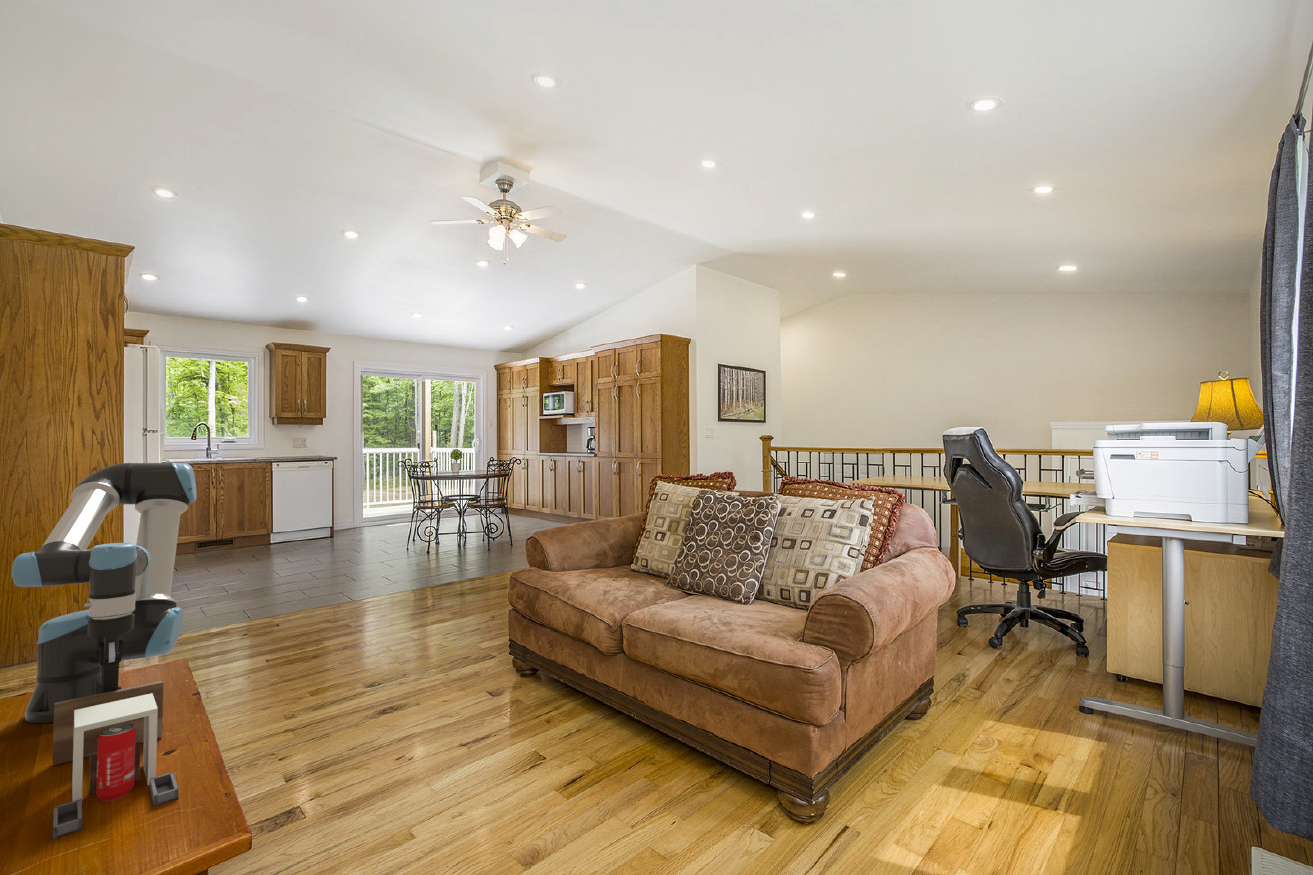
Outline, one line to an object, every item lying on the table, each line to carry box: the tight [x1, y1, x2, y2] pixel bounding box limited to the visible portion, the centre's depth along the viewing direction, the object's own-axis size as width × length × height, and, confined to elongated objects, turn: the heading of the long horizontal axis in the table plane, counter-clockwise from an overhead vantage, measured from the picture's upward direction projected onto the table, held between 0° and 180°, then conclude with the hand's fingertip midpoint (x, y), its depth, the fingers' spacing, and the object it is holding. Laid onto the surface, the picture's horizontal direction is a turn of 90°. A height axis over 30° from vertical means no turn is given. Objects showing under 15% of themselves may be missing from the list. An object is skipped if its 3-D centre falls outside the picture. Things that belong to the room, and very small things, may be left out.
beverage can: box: [95, 723, 136, 802], centre depth 110 cm, size 5×5×12 cm
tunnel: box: [71, 693, 158, 804], centre depth 113 cm, size 10×11×14 cm
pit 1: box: [52, 799, 83, 840], centre depth 101 cm, size 8×3×2 cm, turn 45°
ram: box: [52, 680, 164, 795], centre depth 119 cm, size 20×17×12 cm
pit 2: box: [149, 771, 179, 807], centre depth 110 cm, size 8×3×2 cm, turn 45°
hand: (108, 724), depth 129 cm, fingers closed
